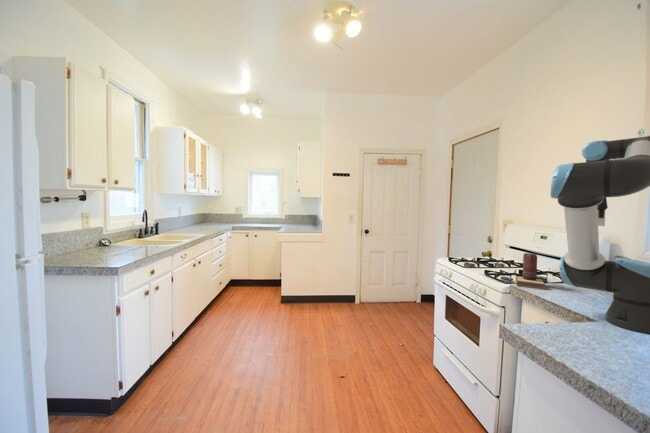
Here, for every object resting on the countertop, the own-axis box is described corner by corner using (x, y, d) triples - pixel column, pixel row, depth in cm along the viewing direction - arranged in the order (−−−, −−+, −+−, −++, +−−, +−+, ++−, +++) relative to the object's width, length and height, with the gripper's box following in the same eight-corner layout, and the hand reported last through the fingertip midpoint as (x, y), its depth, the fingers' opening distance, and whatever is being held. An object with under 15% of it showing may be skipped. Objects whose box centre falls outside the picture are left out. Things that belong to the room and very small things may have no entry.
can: (523, 279, 151) (524, 254, 151) (521, 277, 156) (522, 252, 156) (537, 281, 148) (538, 255, 148) (535, 278, 154) (536, 253, 153)
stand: (545, 289, 143) (545, 284, 142) (516, 286, 149) (517, 280, 149) (541, 284, 153) (542, 279, 153) (515, 281, 159) (515, 276, 159)
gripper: (619, 173, 109) (617, 226, 110) (599, 179, 131) (597, 224, 131) (593, 174, 113) (591, 226, 114) (578, 180, 135) (576, 223, 135)
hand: (595, 225), depth 123 cm, fingers open, 13 cm apart
